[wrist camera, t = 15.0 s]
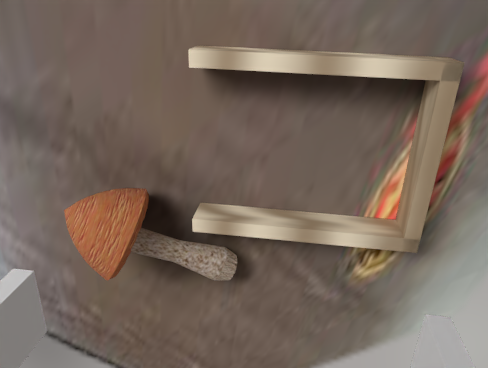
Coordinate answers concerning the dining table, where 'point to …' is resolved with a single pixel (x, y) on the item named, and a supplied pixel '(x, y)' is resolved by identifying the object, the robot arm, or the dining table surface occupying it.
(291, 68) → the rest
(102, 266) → the mushroom
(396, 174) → the dining table surface
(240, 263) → the dining table surface
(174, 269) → the dining table surface
